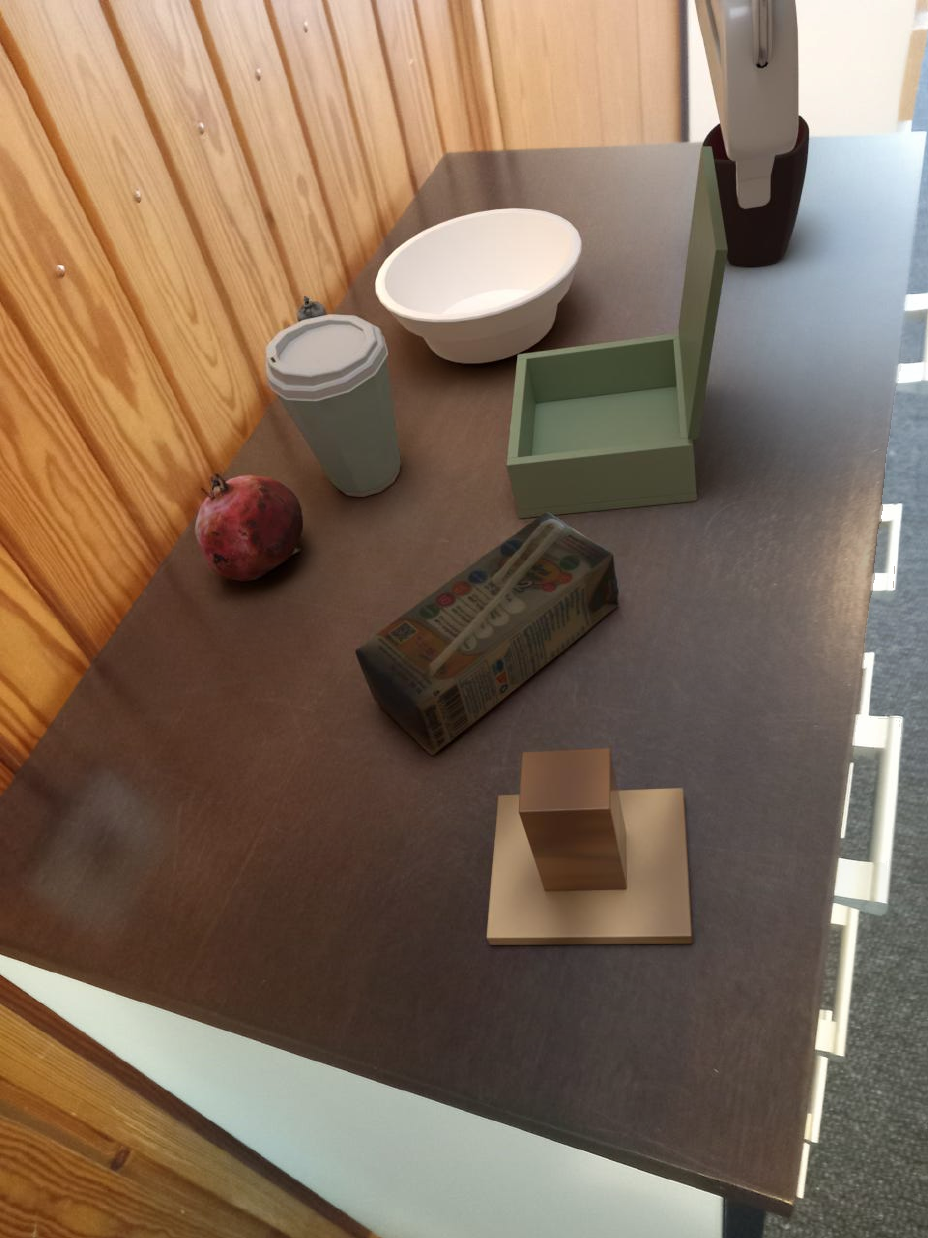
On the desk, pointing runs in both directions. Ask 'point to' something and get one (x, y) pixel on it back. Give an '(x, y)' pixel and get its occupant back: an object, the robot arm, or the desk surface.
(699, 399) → the lid
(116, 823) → the desk surface
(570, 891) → the board
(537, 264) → the bowl
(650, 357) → the green box base
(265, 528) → the fruit
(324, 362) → the disposable coffee cup
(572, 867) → the brown wooden block
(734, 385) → the desk surface
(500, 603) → the beverage carton
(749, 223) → the dark brown plant pot
